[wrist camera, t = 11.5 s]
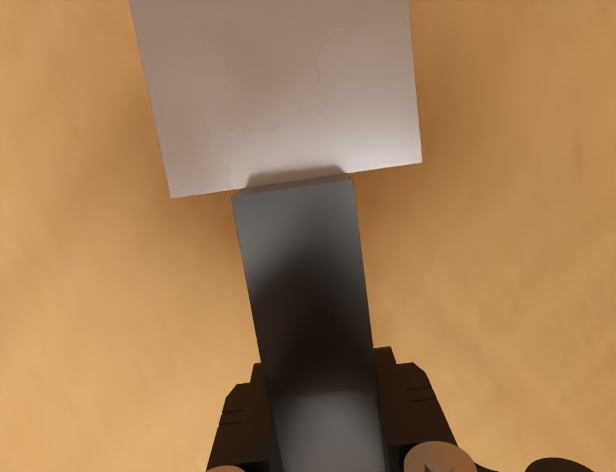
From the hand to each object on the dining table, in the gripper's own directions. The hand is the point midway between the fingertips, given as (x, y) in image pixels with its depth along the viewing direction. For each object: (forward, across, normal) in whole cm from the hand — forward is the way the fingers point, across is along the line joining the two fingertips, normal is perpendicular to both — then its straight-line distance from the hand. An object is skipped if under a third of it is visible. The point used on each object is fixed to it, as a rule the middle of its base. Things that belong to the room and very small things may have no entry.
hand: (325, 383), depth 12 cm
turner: (+1, 0, -3) cm, 3 cm away
